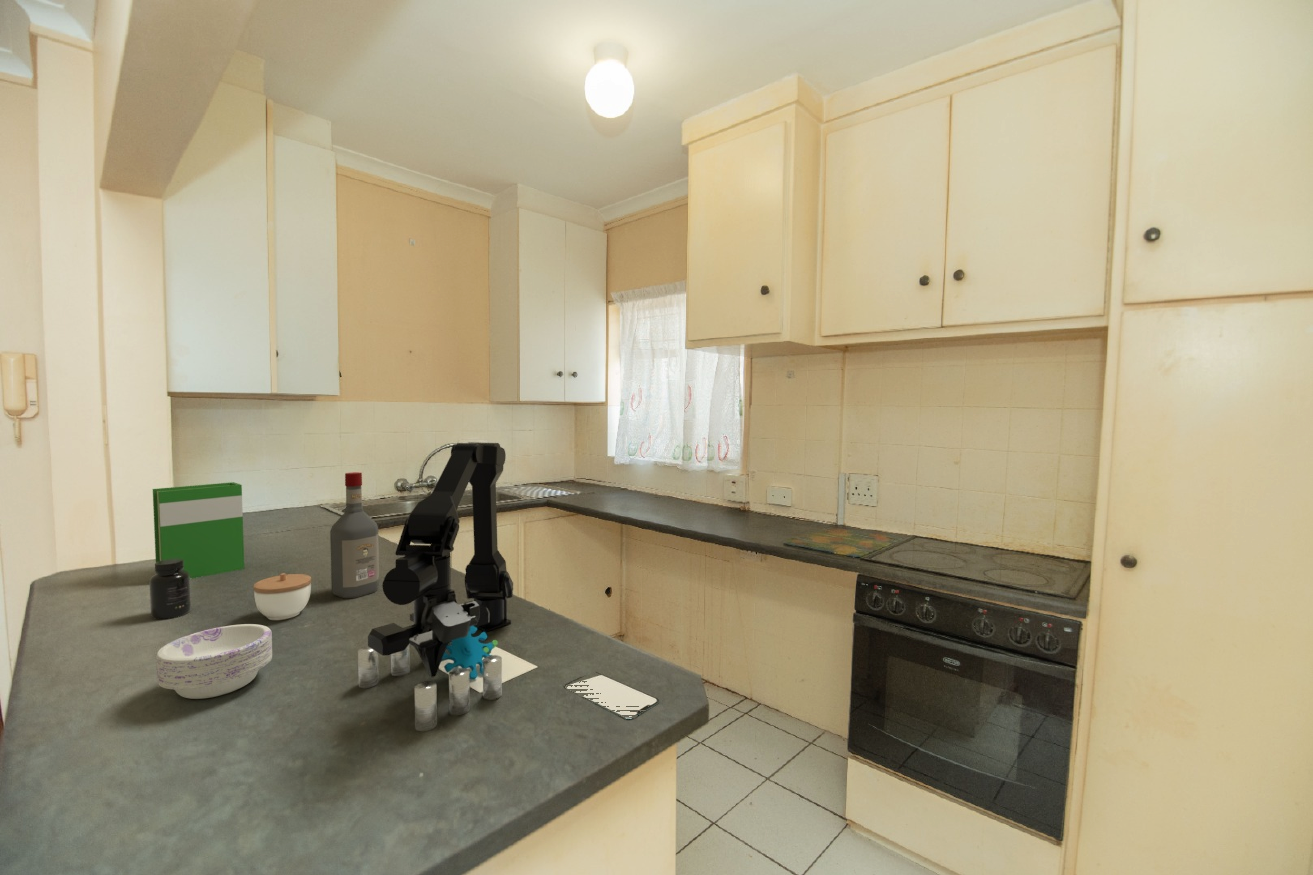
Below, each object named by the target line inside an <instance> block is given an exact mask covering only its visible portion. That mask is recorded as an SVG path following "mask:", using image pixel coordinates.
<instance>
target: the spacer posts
mask: <svg viewBox="0 0 1313 875" xmlns="http://www.w3.org/2000/svg"><path fill="white" fill-rule="evenodd" d="M410 661H411V660H410V644H409V645H408V646H407V648H406V649H405V650H403V651H400V652H397V653H394V654H391V655H390V672H391V674H390V675H392V676H393V677H401V676H405V675H407V674H408V673H410V672H411V668H410V667H411V662H410ZM357 665H358V667H357V668H358V670H357V672H358V674H357V675H358V687H359V688H361V689H369V688H373V687H375V686H377V685H378V684H379V653H378V652H376V651H375V650H373V649H372V648H370V647H368V645H365V646H362V647H360V648H358V650H357ZM502 688H503V683H502V657H501V656H498V655H491V656H487V657H485V658H484V659H483V692H482V698H484V699H485V700H487V701H488V700H496V698H497V699H499V698H500V697H501V696H503V689H502ZM470 691H471V690H470V687H469V670H468V669H466V668H458V669H454V670H452V671H451V672H450V673H449V675H448V702H449V703H448V708H449V710H448V711H449V714H451V715H452V716H461V715H462V716H463V715H464V714H466V713H468V712H469V711H470V709H471V706H470V704H471V702H470V701H471V700H470V698H471V697H470ZM437 692H438V691H437V683H436V682H435V681H431V680H428V681H427V680H426V681H422V682H419V683H417V684H416V685H415V686H414V729H415V731H419V732H426V731H430V730H432V729H434V728H435V727H437V724H438V714H437V713H438V709H437V704H438V703H437V700H438V699H437V698H438V696H437Z"/></svg>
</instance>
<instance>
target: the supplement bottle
mask: <svg viewBox="0 0 1313 875" xmlns="http://www.w3.org/2000/svg"><path fill="white" fill-rule="evenodd" d="M183 568H184V564H183V560H182V559H168V560H163V561H159V562H157V563H156V562H155V563H154V572H155V574H154V575H152V576H151V577H150V578H149V580H148V581H149V584H148V586H149V604H150V605H149V606H150V616H151V618H152V619H154V618H155V619H154V620H169V619H168V618H170V619H174V617H175V618H178V616H179V617H181V616H184V615H186V614H188V613H189V612H190V611H191V610H192V600H191V599H192V597H191V596H192V595H191V579H190V575H189V573H188V572H187V571H184V570H183Z"/></svg>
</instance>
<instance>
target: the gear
mask: <svg viewBox="0 0 1313 875" xmlns="http://www.w3.org/2000/svg"><path fill="white" fill-rule="evenodd" d="M477 630H478V628H477V627H474V626H471V627H469V631H468V635H467V636H466V637H463V638H462V637H460V638H457V639H454V640H452V641H451V642H450V644H448V646H447V648H446V651H445V652H444V655H443V657H442V660H441V661H445V660H447V659H450V660H453V661H454V663H447V664H446V665H445V666H444V668H445V670H446V672H450V671H451V670H452V669H453V668H454V667H458V666H461V667H462V668H466V669H467V668H471V669H472V672H471V673H470V674H469V679H475V678H476V677H477V676H478V674H477V671H476V664H479V665H480V670H479V671H480V673H481V674H483V660H482V659H483V657H484V658H485V657H487V656H491V655H489V654H490V653H491V650H492V649H493V648H495V646H496V647H497V646H498V644H499V642H498V640H497V639H494V640H492V641H491V642H488V643H483V641H486V639H487V638H488V635H487V633H486V631H483V632H481V633H480V634H479V635H478V636H472V635H474V634H475V633H476V632H477ZM480 641H482V642H480ZM447 652H449V653H450V654H448V653H447Z"/></svg>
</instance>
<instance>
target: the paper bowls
mask: <svg viewBox="0 0 1313 875" xmlns="http://www.w3.org/2000/svg"><path fill="white" fill-rule="evenodd" d="M155 657H156V658H155V659H156V679H157V684H158V685H159V686H160V688H163V689H167V690H174V692H176V693H177V695H179V696H181V697H183V698H186V699H192V700H194V699H195V700H199V699H200V700H201V699H202V700H203V699H209V698H214V697H219V696H223V695H226V694H229V693H232V692H235V691H237V690H239V689H241V688H244V687H246V685H249V683H251V682H252V681H253V680H254V679H255V678H256V676H257V674H258V673H259V670H261V669H262V668H264V667H265V666H266V665H268V664H269V663H270V662H271V661H272V659H273V634H272V630H271V629H270V628H269V627H268V626H266V625H262V624H254V623H244V624H233V625H231V624H230V625H226V626H218V627H214V628H209V629H205V630H201V631H197V632H195V633H191V634H188V635H184V636H181V637H179V638H177V639H174V640H172V641H171V642H168V643H167V644H165V645H163V646H162V647H161V648H160V649H159V650H158V651H157V653H156V654H155Z"/></svg>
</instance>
